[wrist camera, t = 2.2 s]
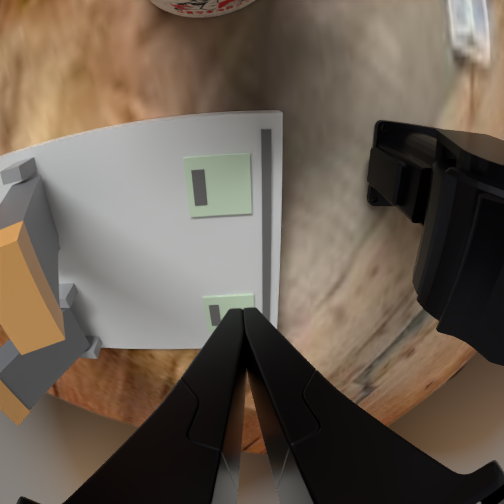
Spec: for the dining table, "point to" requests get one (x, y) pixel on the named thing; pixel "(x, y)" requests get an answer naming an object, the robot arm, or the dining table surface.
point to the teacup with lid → (201, 7)
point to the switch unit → (162, 224)
